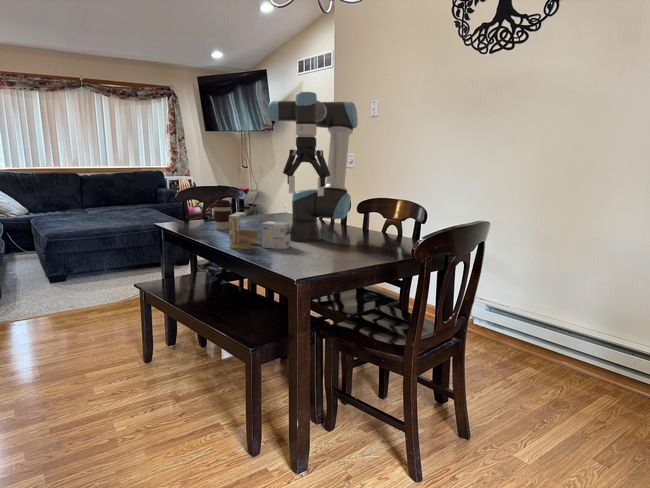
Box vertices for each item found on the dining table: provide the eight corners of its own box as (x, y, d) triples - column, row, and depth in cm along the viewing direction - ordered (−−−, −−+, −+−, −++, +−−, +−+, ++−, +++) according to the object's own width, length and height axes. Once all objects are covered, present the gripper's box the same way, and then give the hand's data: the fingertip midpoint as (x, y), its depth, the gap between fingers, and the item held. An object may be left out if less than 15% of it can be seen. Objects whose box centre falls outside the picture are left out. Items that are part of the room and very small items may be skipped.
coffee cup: (209, 228, 238) (208, 200, 235) (226, 226, 245) (225, 199, 242) (219, 231, 231) (218, 201, 228) (236, 229, 237) (235, 200, 234)
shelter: (237, 242, 203) (237, 212, 201) (257, 243, 202) (257, 212, 200) (229, 247, 192) (228, 215, 189) (250, 248, 191) (250, 216, 188)
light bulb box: (290, 246, 197) (290, 222, 195) (285, 249, 191) (285, 224, 188) (267, 245, 200) (267, 220, 197) (261, 247, 193) (261, 222, 191)
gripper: (273, 136, 170) (274, 192, 175) (328, 136, 156) (327, 197, 161) (286, 136, 176) (286, 191, 181) (340, 136, 162) (339, 196, 167)
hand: (305, 194), depth 171 cm, fingers open, 13 cm apart
